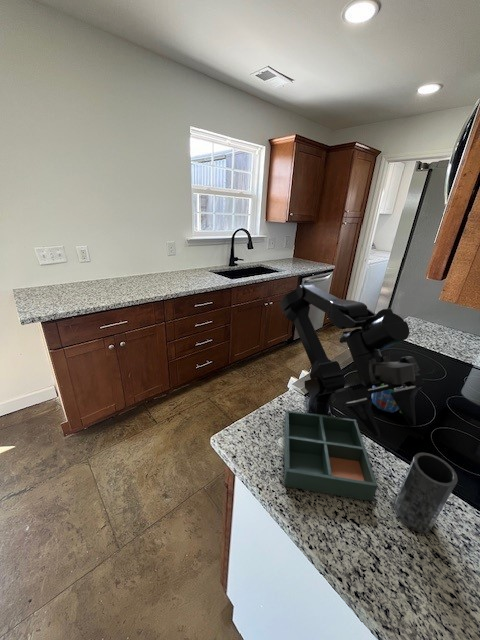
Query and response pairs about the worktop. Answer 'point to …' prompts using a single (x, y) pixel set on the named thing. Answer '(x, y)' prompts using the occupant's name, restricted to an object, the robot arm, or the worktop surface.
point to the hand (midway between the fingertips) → (395, 431)
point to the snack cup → (384, 400)
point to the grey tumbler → (424, 491)
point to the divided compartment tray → (326, 456)
